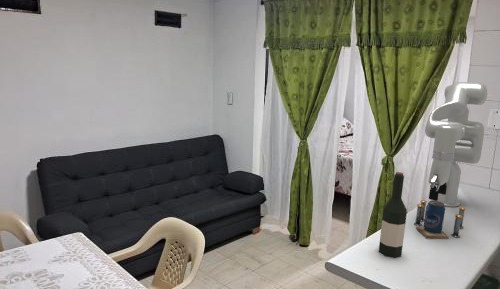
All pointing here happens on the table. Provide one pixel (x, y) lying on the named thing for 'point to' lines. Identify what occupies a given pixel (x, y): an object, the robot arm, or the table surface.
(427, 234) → the walnut coaster
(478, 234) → the table surface
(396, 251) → the wine bottle
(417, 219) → the post
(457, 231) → the post
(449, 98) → the robot arm
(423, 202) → the post
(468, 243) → the table surface
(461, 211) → the post
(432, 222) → the soda can
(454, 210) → the table surface
